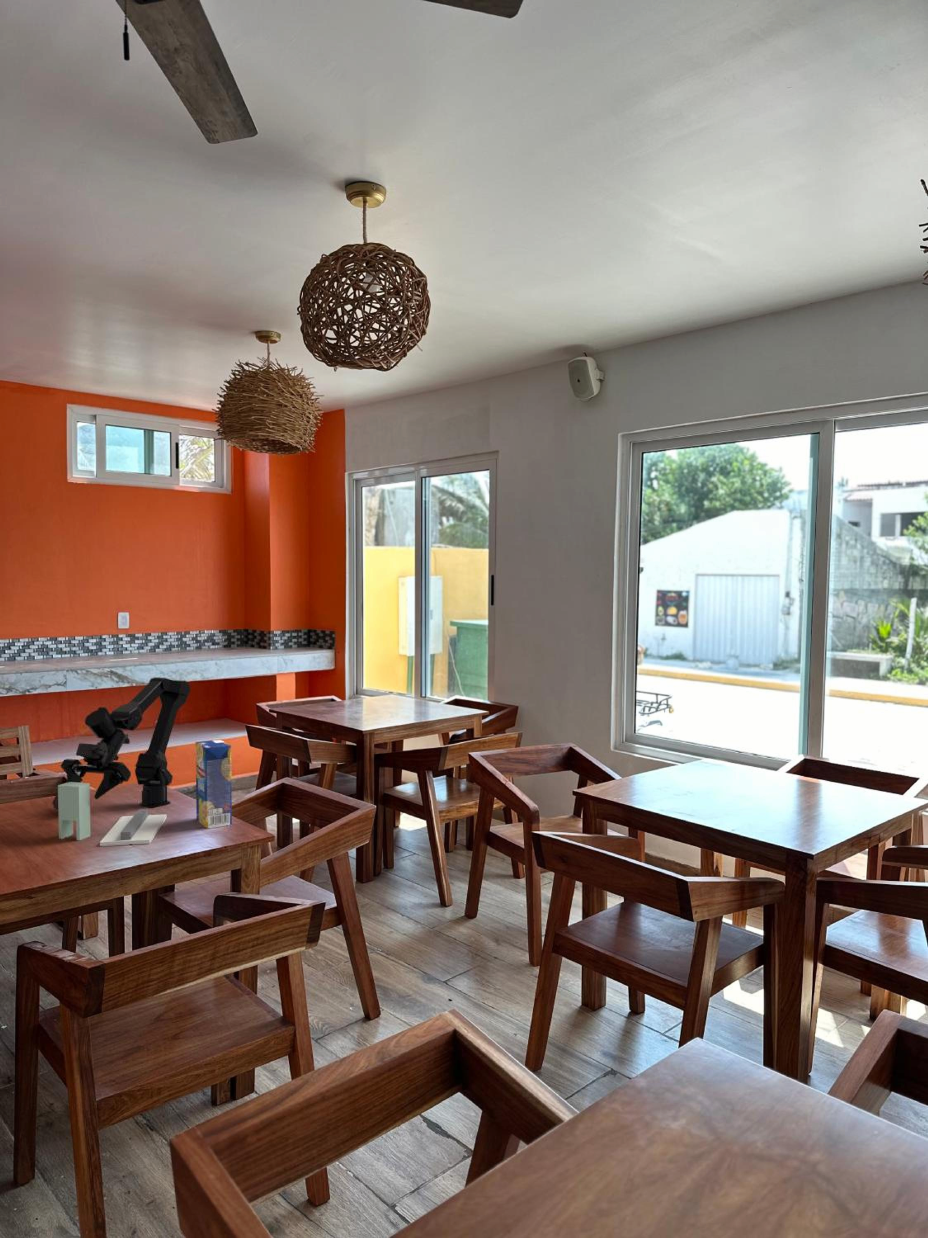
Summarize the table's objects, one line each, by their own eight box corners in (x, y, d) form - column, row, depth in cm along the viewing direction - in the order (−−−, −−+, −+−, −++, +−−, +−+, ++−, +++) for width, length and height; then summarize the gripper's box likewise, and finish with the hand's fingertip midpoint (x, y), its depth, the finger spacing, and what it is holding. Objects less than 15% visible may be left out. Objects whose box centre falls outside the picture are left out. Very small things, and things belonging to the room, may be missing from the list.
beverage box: (220, 815, 237) (219, 739, 236) (232, 825, 227) (231, 745, 226) (196, 819, 233) (195, 742, 232) (206, 828, 224) (205, 748, 223)
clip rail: (121, 820, 232) (121, 809, 232) (166, 817, 234) (166, 807, 234) (99, 846, 209) (99, 834, 208) (149, 843, 211) (149, 832, 211)
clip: (70, 834, 219) (69, 781, 218) (90, 836, 217) (89, 783, 217) (58, 838, 215) (57, 785, 214) (79, 840, 213) (78, 787, 213)
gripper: (64, 729, 225) (34, 778, 215) (123, 732, 220) (95, 782, 210) (85, 752, 233) (57, 801, 223) (142, 756, 228) (116, 805, 218)
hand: (80, 797), depth 218 cm, fingers open, 9 cm apart
